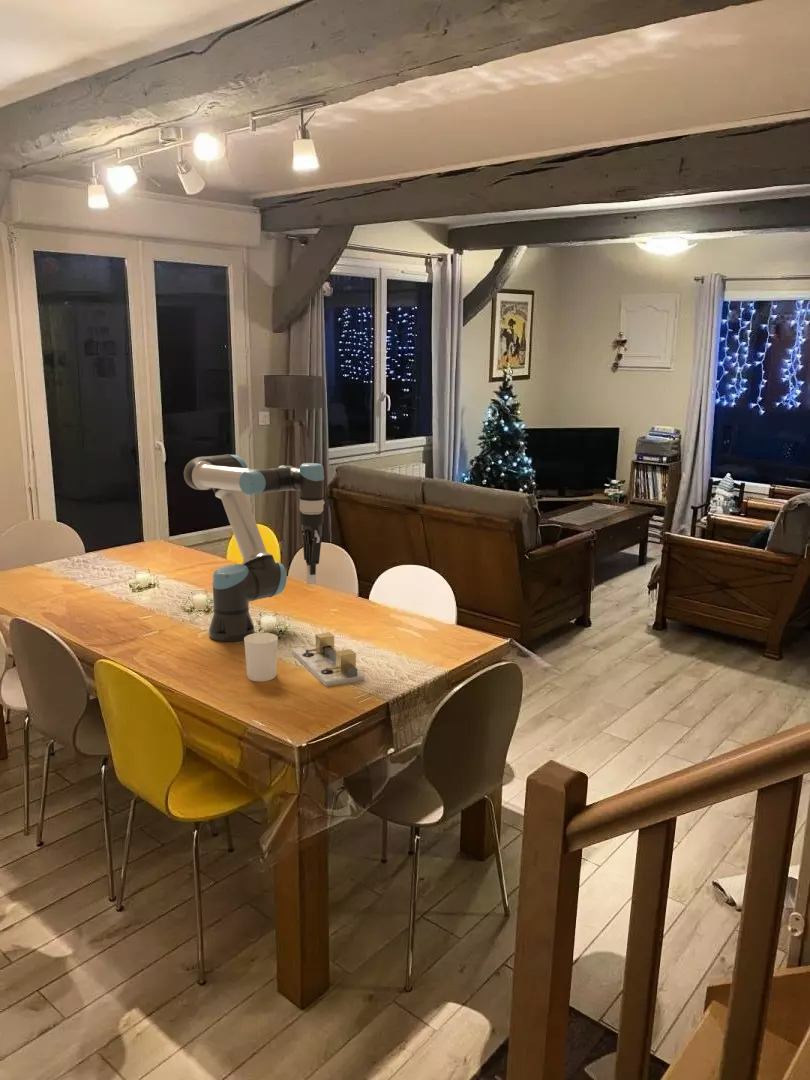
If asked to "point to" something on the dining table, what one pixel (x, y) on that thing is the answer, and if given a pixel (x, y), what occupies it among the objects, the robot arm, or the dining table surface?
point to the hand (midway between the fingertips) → (311, 583)
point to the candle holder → (261, 656)
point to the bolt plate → (330, 665)
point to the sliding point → (322, 642)
